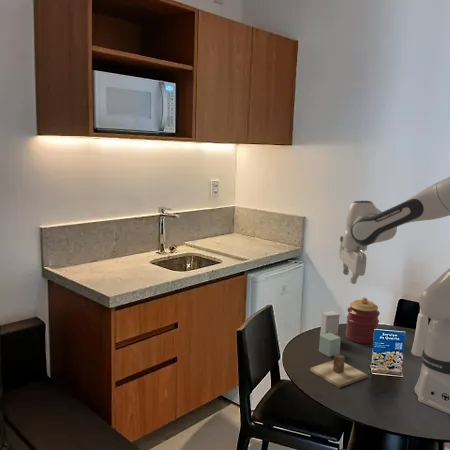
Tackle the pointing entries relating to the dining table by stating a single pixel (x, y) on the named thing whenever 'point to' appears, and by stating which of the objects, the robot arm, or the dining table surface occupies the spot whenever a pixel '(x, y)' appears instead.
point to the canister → (362, 321)
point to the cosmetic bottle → (420, 334)
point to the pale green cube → (329, 344)
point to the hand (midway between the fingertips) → (349, 278)
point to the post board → (338, 377)
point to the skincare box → (330, 323)
